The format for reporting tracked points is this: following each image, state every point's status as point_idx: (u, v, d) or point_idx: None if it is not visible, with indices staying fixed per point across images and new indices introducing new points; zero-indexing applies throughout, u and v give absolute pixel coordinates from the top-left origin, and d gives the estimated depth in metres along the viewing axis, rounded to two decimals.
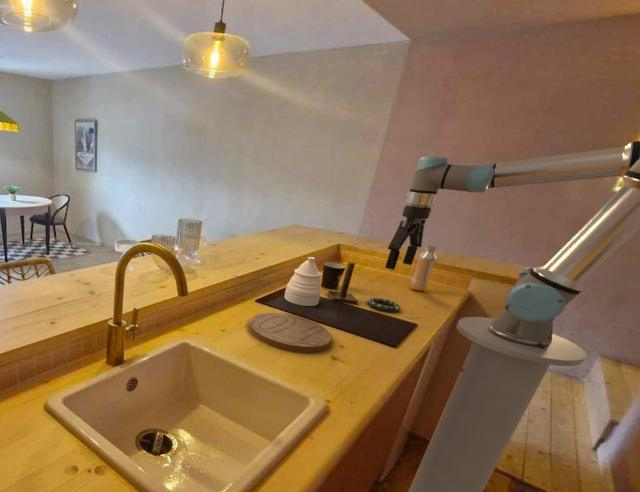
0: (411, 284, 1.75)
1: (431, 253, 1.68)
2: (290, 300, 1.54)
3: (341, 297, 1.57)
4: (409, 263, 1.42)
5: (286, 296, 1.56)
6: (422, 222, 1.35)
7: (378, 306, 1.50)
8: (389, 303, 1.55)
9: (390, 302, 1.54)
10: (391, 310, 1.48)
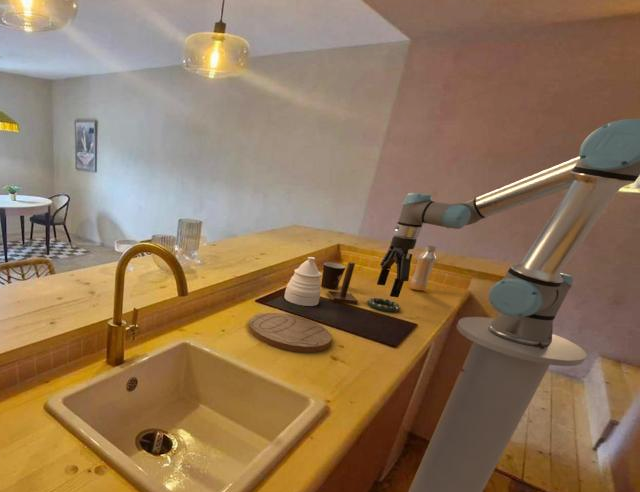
0: (411, 284, 1.75)
1: (431, 253, 1.68)
2: (290, 300, 1.54)
3: (341, 297, 1.57)
4: (383, 284, 1.57)
5: (286, 296, 1.56)
6: None
7: (378, 306, 1.50)
8: (389, 303, 1.55)
9: (390, 302, 1.54)
10: (391, 310, 1.48)
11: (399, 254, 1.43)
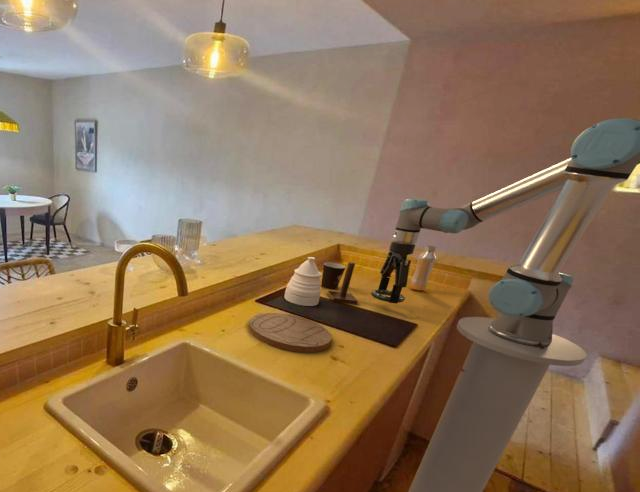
0: (411, 284, 1.75)
1: (431, 253, 1.68)
2: (290, 300, 1.54)
3: (341, 297, 1.57)
4: None
5: (286, 296, 1.56)
6: None
7: (382, 297, 1.48)
8: None
9: None
10: None
11: (398, 259, 1.44)
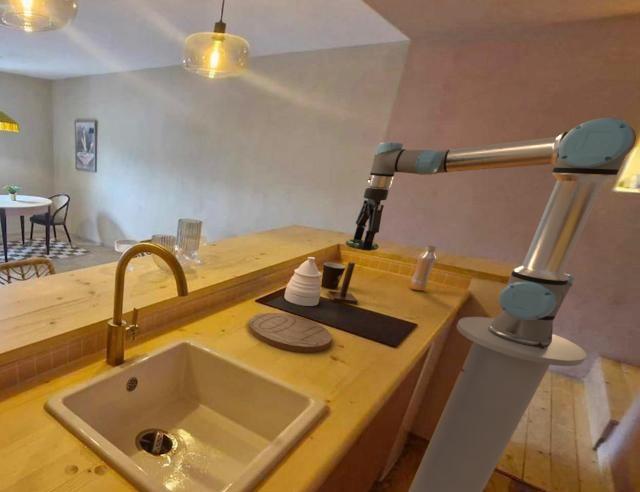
0: (411, 284, 1.75)
1: (431, 253, 1.68)
2: (290, 300, 1.54)
3: (341, 297, 1.57)
4: None
5: (286, 296, 1.56)
6: None
7: (356, 245, 1.47)
8: None
9: None
10: None
11: (372, 205, 1.43)
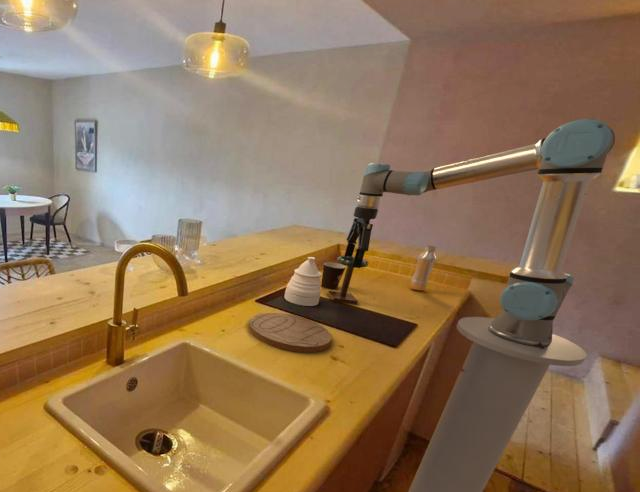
0: (411, 284, 1.75)
1: (431, 253, 1.68)
2: (290, 300, 1.54)
3: (341, 297, 1.57)
4: None
5: (286, 296, 1.56)
6: None
7: (346, 262, 1.50)
8: None
9: None
10: None
11: (361, 224, 1.46)
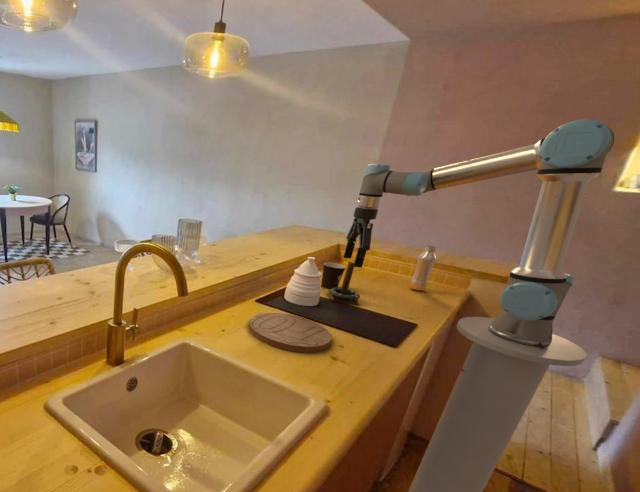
0: (411, 284, 1.75)
1: (431, 253, 1.68)
2: (290, 300, 1.54)
3: None
4: (349, 257, 1.59)
5: (286, 296, 1.56)
6: None
7: (338, 295, 1.55)
8: (350, 292, 1.60)
9: (351, 291, 1.60)
10: (350, 299, 1.54)
11: (361, 225, 1.46)
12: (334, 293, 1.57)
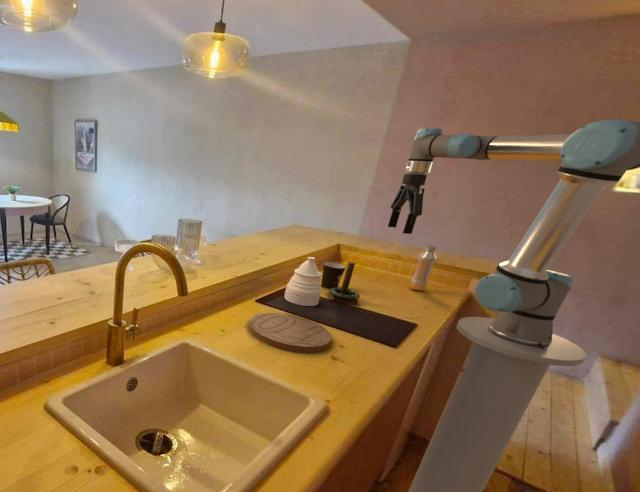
0: (411, 284, 1.75)
1: (431, 253, 1.68)
2: (290, 300, 1.54)
3: None
4: (394, 226, 1.59)
5: (286, 296, 1.56)
6: None
7: (338, 295, 1.55)
8: (350, 292, 1.60)
9: (351, 291, 1.60)
10: (350, 299, 1.54)
11: (411, 191, 1.46)
12: (334, 293, 1.57)
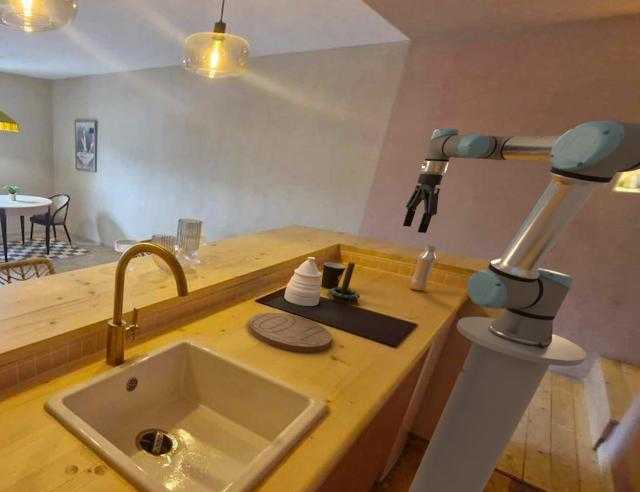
0: (411, 284, 1.75)
1: (431, 253, 1.68)
2: (290, 300, 1.54)
3: None
4: (409, 225, 1.61)
5: (286, 296, 1.56)
6: None
7: (338, 295, 1.55)
8: (350, 292, 1.60)
9: (351, 291, 1.60)
10: (350, 299, 1.54)
11: (426, 190, 1.48)
12: (334, 293, 1.57)
